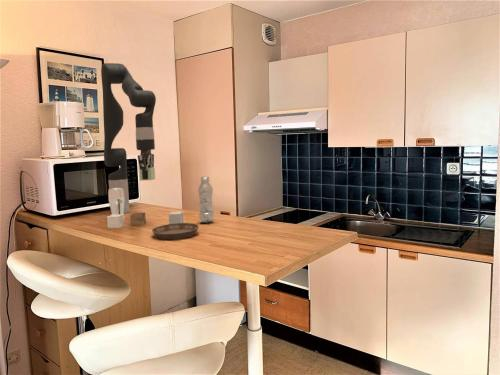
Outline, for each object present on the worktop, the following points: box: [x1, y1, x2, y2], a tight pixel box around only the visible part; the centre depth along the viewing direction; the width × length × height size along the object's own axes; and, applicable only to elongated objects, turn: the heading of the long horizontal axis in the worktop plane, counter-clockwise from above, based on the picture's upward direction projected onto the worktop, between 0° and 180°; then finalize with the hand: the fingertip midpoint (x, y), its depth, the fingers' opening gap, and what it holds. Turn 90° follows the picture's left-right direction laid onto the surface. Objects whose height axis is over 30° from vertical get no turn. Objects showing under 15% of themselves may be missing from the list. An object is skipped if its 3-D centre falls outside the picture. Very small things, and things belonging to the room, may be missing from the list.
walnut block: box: [129, 212, 147, 227], centre depth 173 cm, size 5×5×5 cm
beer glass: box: [107, 188, 126, 222], centre depth 182 cm, size 7×7×15 cm
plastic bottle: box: [197, 176, 215, 224], centre depth 172 cm, size 6×7×20 cm
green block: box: [138, 167, 156, 181], centre depth 168 cm, size 5×5×5 cm
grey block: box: [168, 211, 185, 224], centre depth 172 cm, size 5×5×5 cm
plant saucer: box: [151, 222, 200, 240], centre depth 152 cm, size 18×18×3 cm
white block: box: [106, 214, 125, 229], centre depth 170 cm, size 5×5×5 cm
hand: (147, 178), depth 168 cm, fingers closed on green block, 5 cm apart
